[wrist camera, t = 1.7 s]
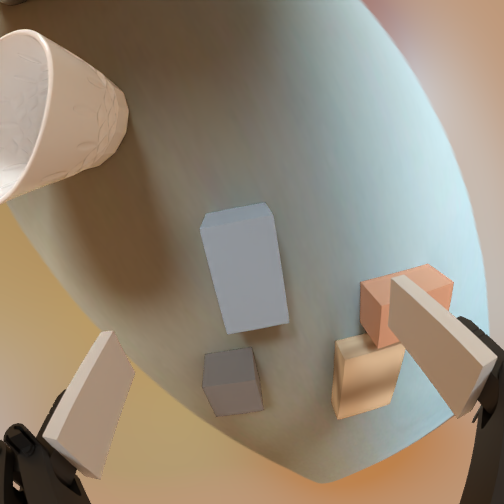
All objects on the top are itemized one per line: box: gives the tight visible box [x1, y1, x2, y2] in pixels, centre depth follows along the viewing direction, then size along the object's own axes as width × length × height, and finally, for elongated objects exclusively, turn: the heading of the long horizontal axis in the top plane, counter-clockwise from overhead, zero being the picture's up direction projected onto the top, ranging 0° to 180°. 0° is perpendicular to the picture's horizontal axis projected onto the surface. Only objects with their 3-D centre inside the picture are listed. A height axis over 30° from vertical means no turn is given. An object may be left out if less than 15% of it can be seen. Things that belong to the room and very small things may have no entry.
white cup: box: [0, 29, 129, 204], centre depth 11 cm, size 8×8×10 cm
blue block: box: [200, 202, 290, 334], centre depth 18 cm, size 7×4×4 cm, turn 10°
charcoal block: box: [202, 347, 264, 417], centre depth 21 cm, size 4×4×4 cm
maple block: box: [331, 333, 406, 420], centre depth 24 cm, size 9×6×3 cm, turn 8°
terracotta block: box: [360, 264, 454, 349], centre depth 20 cm, size 7×4×4 cm, turn 101°
